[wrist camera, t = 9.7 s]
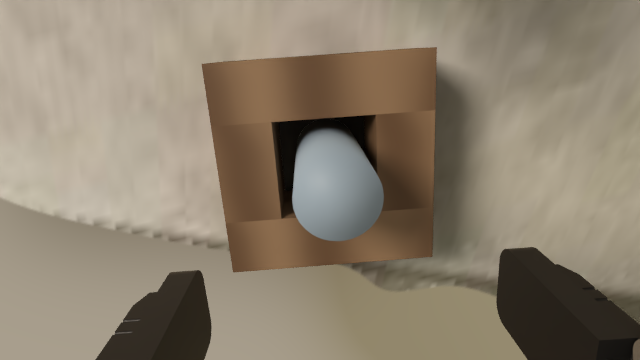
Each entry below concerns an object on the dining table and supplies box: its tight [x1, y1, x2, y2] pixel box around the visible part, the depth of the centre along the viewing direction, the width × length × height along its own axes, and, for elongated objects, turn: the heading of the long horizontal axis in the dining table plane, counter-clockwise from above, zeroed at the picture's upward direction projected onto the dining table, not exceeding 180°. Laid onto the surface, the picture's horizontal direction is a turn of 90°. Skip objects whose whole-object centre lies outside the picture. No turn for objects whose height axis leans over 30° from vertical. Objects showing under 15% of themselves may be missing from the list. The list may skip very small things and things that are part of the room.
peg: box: [292, 118, 384, 241], centre depth 22 cm, size 4×4×10 cm
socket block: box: [202, 47, 437, 272], centre depth 25 cm, size 12×12×5 cm
